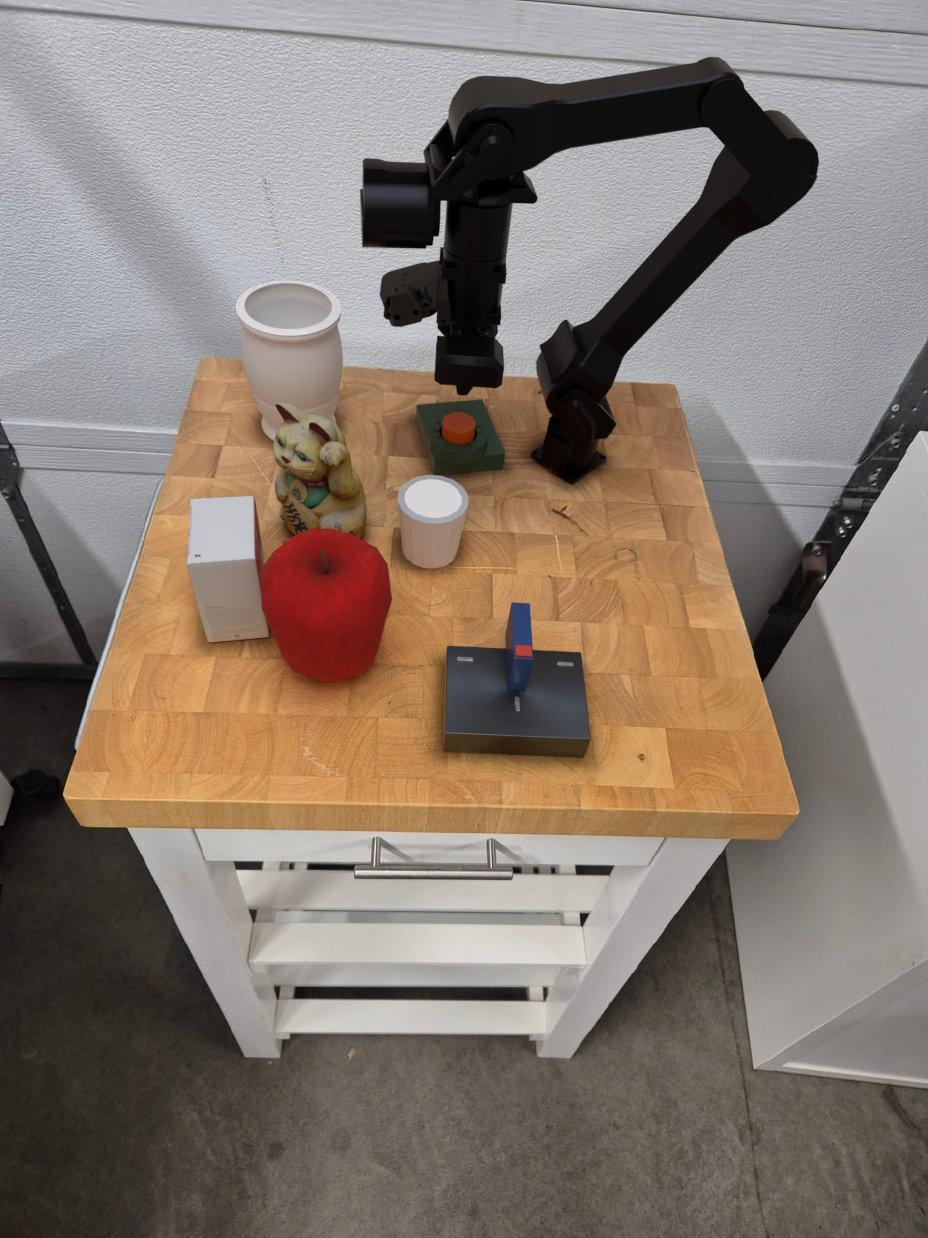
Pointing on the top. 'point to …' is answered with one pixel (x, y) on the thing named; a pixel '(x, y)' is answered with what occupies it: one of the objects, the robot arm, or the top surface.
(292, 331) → the jar
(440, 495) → the white cup
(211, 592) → the small box
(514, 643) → the tap handle
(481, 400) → the button base
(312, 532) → the apple
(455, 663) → the tap plate
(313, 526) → the lucky beckoning cat
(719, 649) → the top surface
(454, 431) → the button
